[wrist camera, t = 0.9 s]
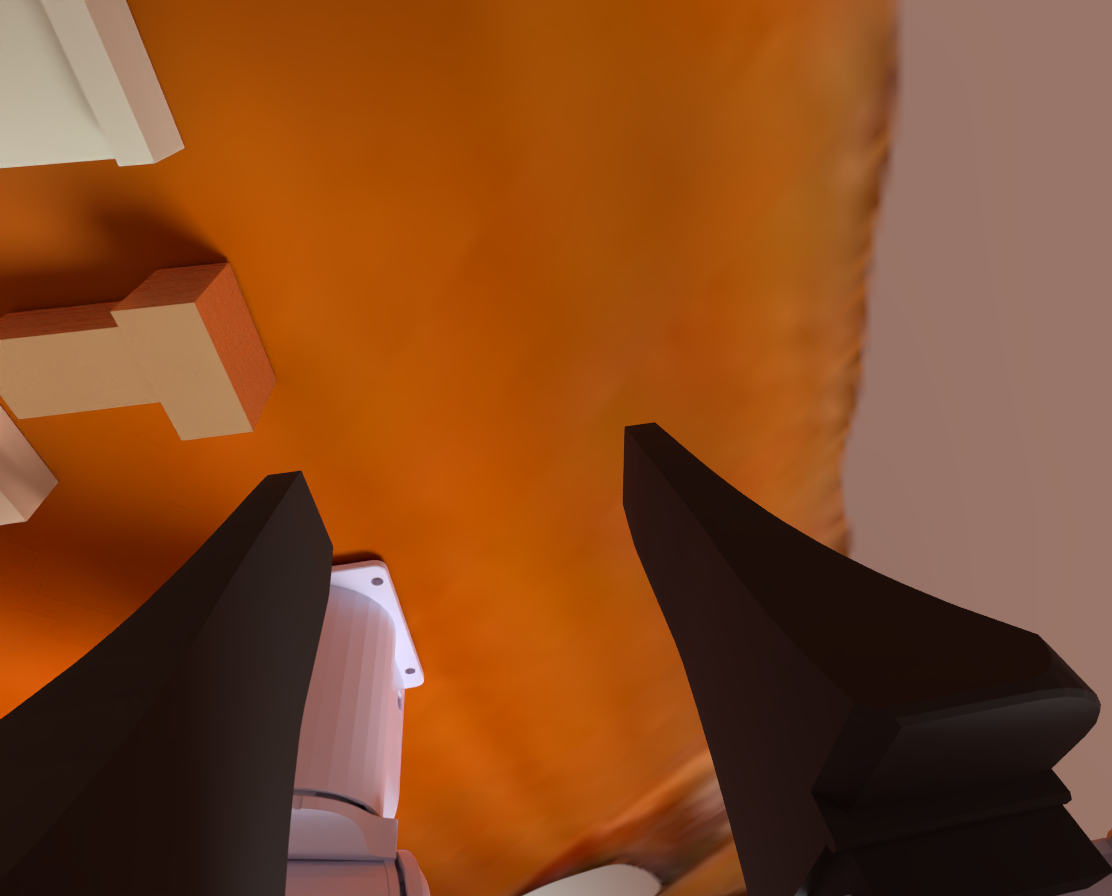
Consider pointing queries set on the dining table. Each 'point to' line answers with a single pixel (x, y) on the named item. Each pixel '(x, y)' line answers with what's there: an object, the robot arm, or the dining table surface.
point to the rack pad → (78, 86)
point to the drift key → (144, 354)
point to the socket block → (20, 475)
